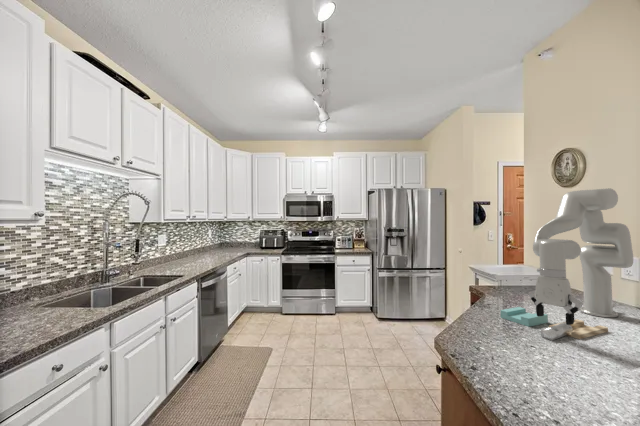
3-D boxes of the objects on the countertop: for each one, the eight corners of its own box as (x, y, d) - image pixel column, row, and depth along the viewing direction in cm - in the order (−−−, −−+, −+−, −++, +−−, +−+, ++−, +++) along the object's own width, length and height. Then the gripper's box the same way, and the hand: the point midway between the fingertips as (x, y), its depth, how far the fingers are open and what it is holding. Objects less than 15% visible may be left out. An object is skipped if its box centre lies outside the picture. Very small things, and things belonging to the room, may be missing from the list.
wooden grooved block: (576, 324, 117) (576, 319, 117) (608, 333, 108) (608, 327, 108) (548, 331, 111) (548, 325, 111) (579, 341, 102) (579, 334, 102)
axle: (560, 330, 109) (560, 320, 108) (572, 335, 105) (573, 325, 105) (540, 337, 105) (540, 327, 104) (552, 343, 101) (553, 333, 100)
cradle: (519, 315, 130) (518, 306, 130) (548, 324, 119) (547, 314, 119) (500, 319, 126) (500, 310, 126) (528, 328, 114) (528, 318, 115)
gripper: (522, 270, 112) (523, 314, 112) (574, 278, 96) (576, 329, 95) (534, 269, 115) (536, 312, 114) (587, 276, 99) (589, 326, 98)
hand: (554, 319), depth 105 cm, fingers open, 9 cm apart
